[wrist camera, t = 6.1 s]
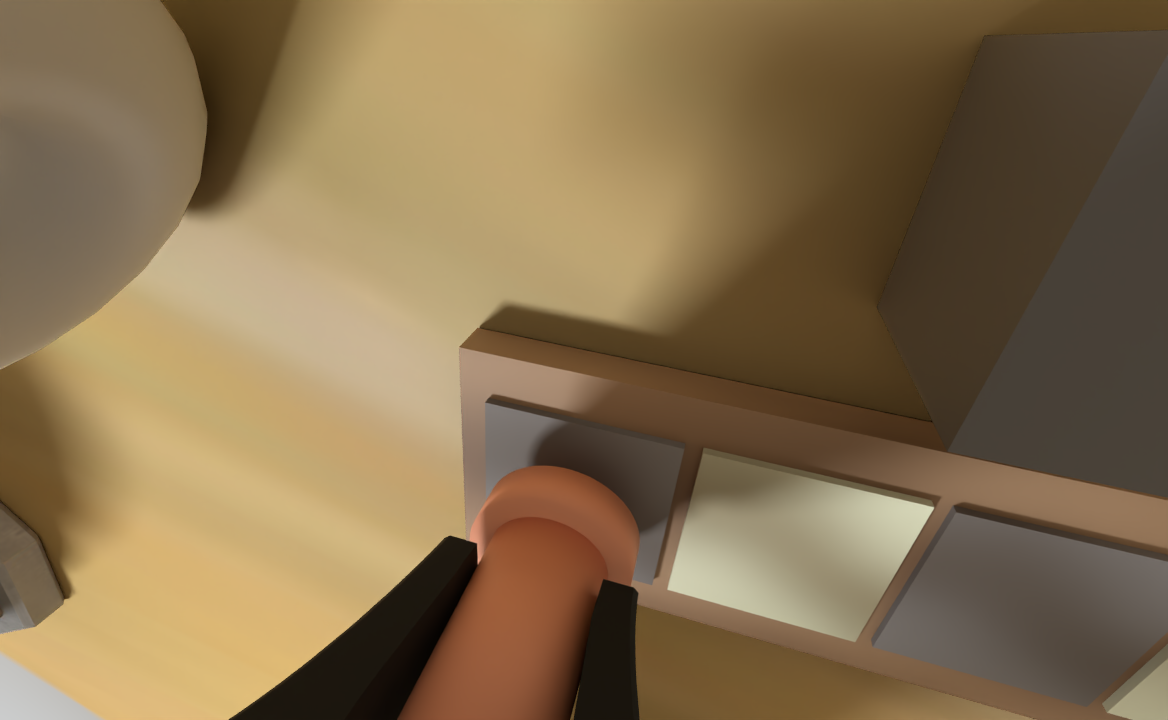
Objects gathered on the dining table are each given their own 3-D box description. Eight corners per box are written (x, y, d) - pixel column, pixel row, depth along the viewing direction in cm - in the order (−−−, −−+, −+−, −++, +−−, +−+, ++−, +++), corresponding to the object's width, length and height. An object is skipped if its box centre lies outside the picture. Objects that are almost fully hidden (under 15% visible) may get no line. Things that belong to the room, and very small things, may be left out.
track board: (1300, 756, 13) (1347, 817, 12) (481, 530, 17) (464, 561, 16) (1613, 564, 9) (1716, 626, 8) (477, 327, 13) (455, 351, 12)
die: (1147, 352, 10) (1404, 550, 6) (876, 305, 11) (948, 454, 7) (1351, 67, 7) (1988, 92, 4) (982, 36, 8) (1186, 29, 4)
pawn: (628, 599, 13) (518, 1098, 7) (488, 558, 14) (272, 983, 8) (651, 489, 11) (528, 1040, 5) (487, 448, 12) (199, 892, 6)
